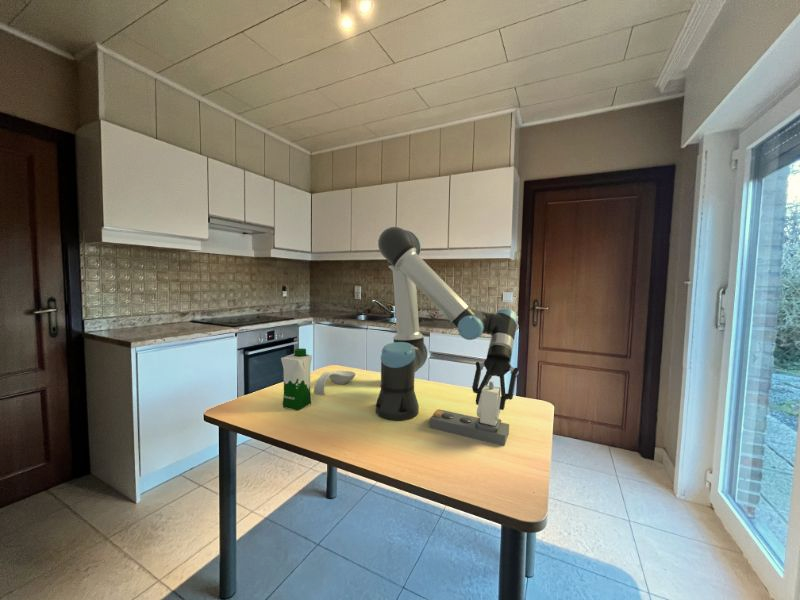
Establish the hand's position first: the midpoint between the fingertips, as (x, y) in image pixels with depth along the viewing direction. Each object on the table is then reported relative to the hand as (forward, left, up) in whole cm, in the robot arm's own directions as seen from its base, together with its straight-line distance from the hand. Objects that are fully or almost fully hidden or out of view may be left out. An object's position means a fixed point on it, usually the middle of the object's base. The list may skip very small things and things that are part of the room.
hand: (487, 416), depth 97 cm
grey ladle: (-67, +16, -8) cm, 70 cm away
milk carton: (-66, -7, -7) cm, 67 cm away
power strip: (-6, +4, -7) cm, 10 cm away
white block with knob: (0, +4, -3) cm, 5 cm away
